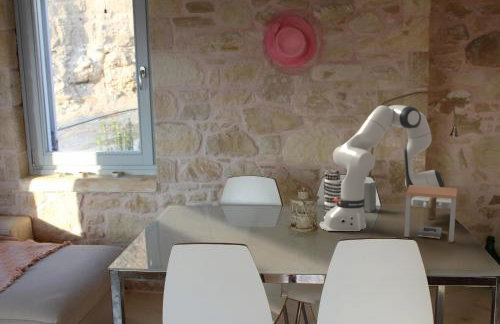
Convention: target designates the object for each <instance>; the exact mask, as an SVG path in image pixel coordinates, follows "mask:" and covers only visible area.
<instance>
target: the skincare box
mask: <svg viewBox="0 0 500 324" xmlns="http://www.w3.org/2000/svg"><path fill="white" fill-rule="evenodd" d="M364 199H365V208H364V212H367V213H371V212H374V211H375V210H377V181H375V180H365V185H364Z"/></svg>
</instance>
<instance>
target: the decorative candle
mask: <svg viewBox="0 0 500 324" xmlns="http://www.w3.org/2000/svg"><path fill="white" fill-rule="evenodd" d="M341 182H342V180H341V172H340V171H339V170H338V169H335V168H334V169H332V168H331V169H327V170H326V171H325V172H324V182H323V189H324V190H323V196H324V204H323V209H324V210H323V219H325V215H326V213H327V212H328V211H330V210H331V209H332V208H334V207H335V206H336V205H337V202H335V201H334V199H335V198H337V199H339V198H340V197H341Z"/></svg>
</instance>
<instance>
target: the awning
mask: <svg viewBox="0 0 500 324" xmlns="http://www.w3.org/2000/svg"><path fill="white" fill-rule="evenodd" d="M457 191H458V188H456V187H455V188H454V187H445V186H444V187H431V186H417V185H409V187H408V189H407V188H406V192H405V212H404V234H403V235H404V236H409V237H410V229H411V227H410V226H411V209H412V208H411V206H412V205H411V201H412V197H415V196H420V197H434V198H447V199H451V209H450V211H449V212H450V213H449V214H450V215H449V230H448V231H449V234H448V241H449V240H450V241H455V226H456V225H455V224H456V212H457V211H456V210H457V209H456V208H457V193H458V192H457ZM429 231H434V232H429ZM442 232H443V227H439V226H436V227H435V226H426V225H419V226H418V230H417V235H422V236H434V237H441V238H442V234H443V233H442ZM441 233H442V234H441ZM404 236H403V237H404Z"/></svg>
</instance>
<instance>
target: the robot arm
mask: <svg viewBox="0 0 500 324" xmlns="http://www.w3.org/2000/svg"><path fill="white" fill-rule="evenodd" d="M389 127H394V128H398V129H399V128H400V129H405V130H406V134H407V144H406V145H405V146H404V150H403V153H404V154H403V156H404V157H403V158H404V170H405V180H404V184H405V187H406V190H407V189H408V187H409V185H417V186H431V187H445V180H444V177H443V175H442V173H441V172H439V170H437V169H431V170H425V171H419V172H414V161H413V160H414V158H415V157H416V156H418V155H419V154H420V153H422V152H424V151H425V150H427V148H429V147H430V145H431V143H432V141H433V139H432V138H433V137H432V131H431V129H430V126H429V122H428V120H427V118H426V116H425V114H424V113H422V112H421V111H419V110H418V109H417V108H415V107H414V106H410V105H409V106H407V105H403V104H389V105H379V106H377V107H375V108H374V110H372V112H371V113H370V114H369V115H368V117H367V118H366V119H365V121H364V122H363V124H362V125H361V126H360V128H359V129H358V131H357V132H355V134H354V135H353V136H352V137H350V138H349V139H348V140H347V141H346V142H344V143H343V144H342V145H339V146H338V147H336V148H335V149H334V151H333V153H332V160H333V162H334V163H335V164H337V165H338V166H339V167H341V168H344V169H346V175H345V178H344V179H342V180H341V181H342V182H341V183H340V184H341V186H340V188H341V190H340V191H341V193H340V195H341V196H340V198H339V199H337V198H335V199H334V201H335V202H337V205H336V206H335V207H334V208H332V209H331V210H330V211H328V212H327V213H326V215H325V218H323V221H320V222H319V227H320V229H322V230H323V229H324V230H323V231H325V230H326V232H328V231H360V230H361V229H363V230H365V229H366V228H367V227H366V226H367V223H366V219H365V218H366V217H365V211H364V208H365V199H364V185H365V181H367V180H366V179H367V176H368V175H369V173H370V172H371V171H372V170H373V169H374V167H375V164H376V158H375V156H374V155H373V154H372V153H371V152H370V151H369V150H370V149H372V148H375V147H376V146H377V145H378V144H379V143H380V141H381V139H382V138H383V137H384V136H385V134H386V132H387V131H388V129H389ZM428 205H429V197H422V196H412V197H411V206H412V207H418V208H419V207H422V208H425V209H428ZM439 209H442V210H443V209H444V210H451V199H447V198H437V199H436V210H439ZM364 228H365V229H364ZM361 231H362V230H361ZM361 231H360V232H361Z"/></svg>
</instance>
